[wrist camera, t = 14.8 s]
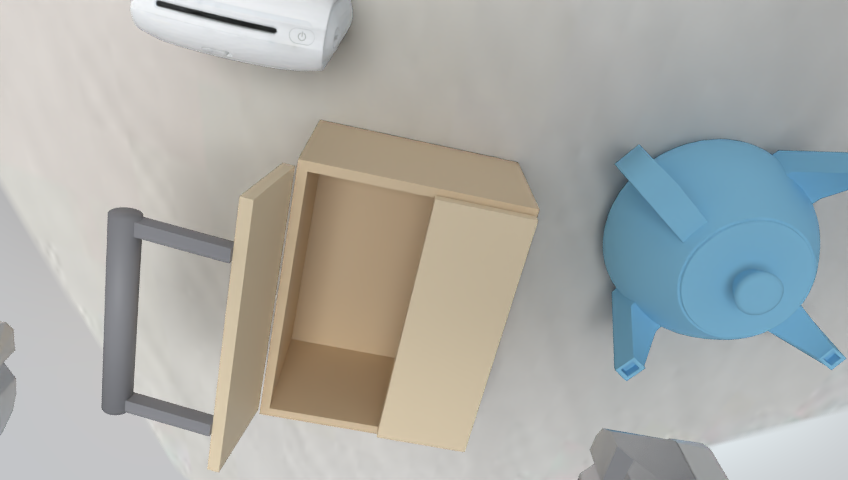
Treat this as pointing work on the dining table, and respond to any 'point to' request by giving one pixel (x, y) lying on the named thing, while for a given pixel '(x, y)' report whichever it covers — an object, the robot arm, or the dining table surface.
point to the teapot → (717, 246)
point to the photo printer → (250, 29)
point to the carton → (395, 285)
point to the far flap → (243, 320)
